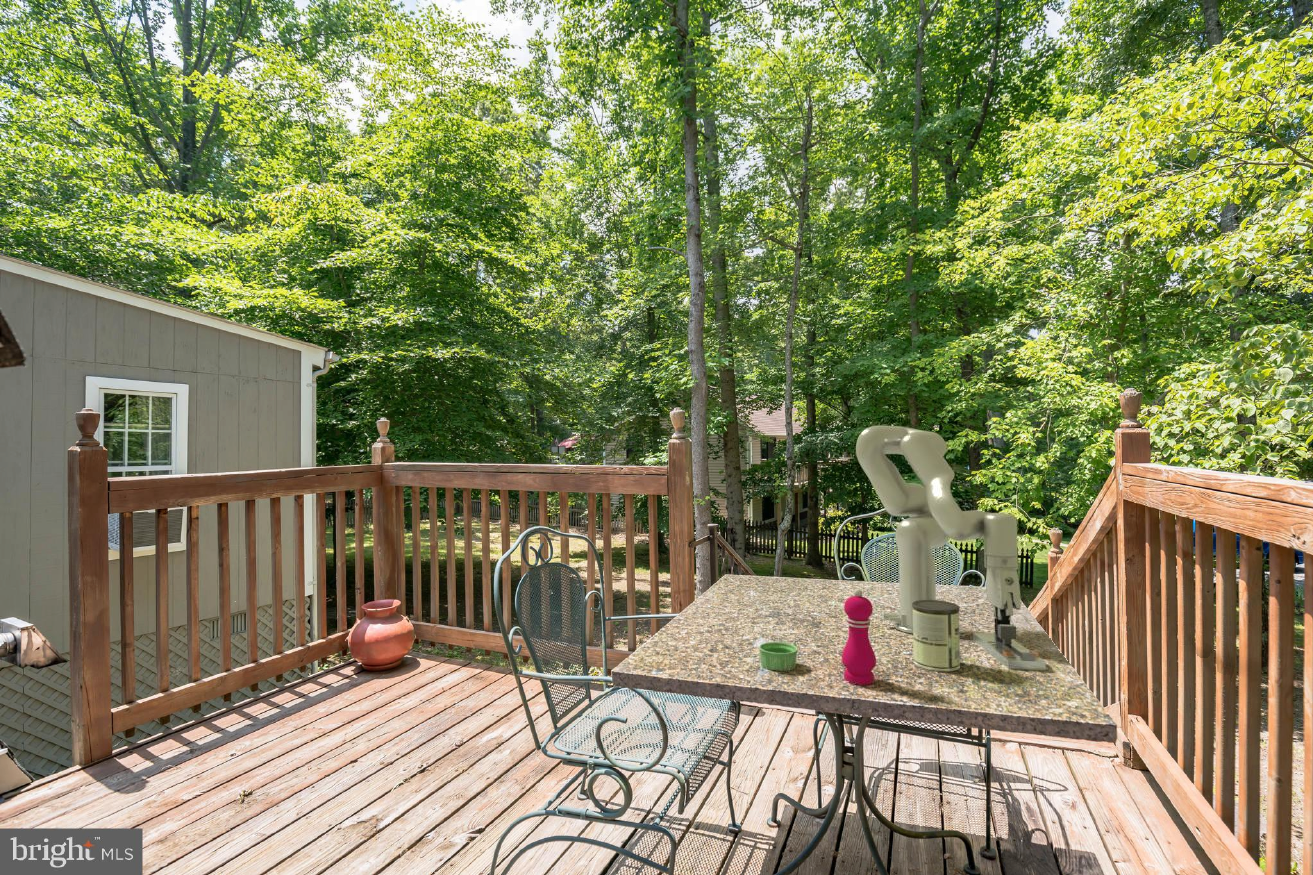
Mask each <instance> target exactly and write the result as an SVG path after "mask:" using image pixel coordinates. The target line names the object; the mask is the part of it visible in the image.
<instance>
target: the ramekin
mask: <svg viewBox="0 0 1313 875" xmlns="http://www.w3.org/2000/svg"><path fill="white" fill-rule="evenodd" d="M758 649H759V654H760V664H761V666H762V667H763V668H764V667H765V668H764V669H766V668H767V669H766V670H769V669H771V670H770V671H773V670H789V669H792V670H794V669H795V668H796V667H797V665H796V664H797V654H798V650H799V649H798V647H797V646H796V645H794V644H793V643H792V644H791V643H789V642H788V643H787V642H782V641H771V642H764V643H762V644H760V645H759V646H758ZM794 667H795V668H794ZM793 668H794V669H793ZM789 671H790V670H789Z"/></svg>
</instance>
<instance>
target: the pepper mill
mask: <svg viewBox="0 0 1313 875" xmlns="http://www.w3.org/2000/svg"><path fill="white" fill-rule="evenodd" d="M843 608H844V609H843V611H844V613H845V614H846V615H847V617H846V620H847V621H846V625H848V637H847V641H846V644H845V646H844V648H843V650H842V655H841V663H842V665H843V666H844V667H845V669H844V672H843V675H844V677H843V678H844V680H846V682H847V681H849V682H850V683H849V682H848V683H849V684H851V683H856V684H860V685H859V686H869V685H868V684H870V685H872V684H874V682H875V674H874V672H873V670H874V669H875V667H876V666H877V660H876V653H875V651H874V649H873V648H872V645H871V643H870V638H869V627H870V626H871V619H870V617H871V615H873V610H874V609H873V604H872V602H871V601H870V599H869V598H868V597H865V596H863V591H862V589H860V588H855V589H854V591H853V595H852V596H850V597H848V598H847V599H846V600H845V601H844V606H843ZM871 683H872V684H871Z"/></svg>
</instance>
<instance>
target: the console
mask: <svg viewBox="0 0 1313 875" xmlns="http://www.w3.org/2000/svg"><path fill="white" fill-rule="evenodd" d="M972 641H973V642H974V643H976V644H977V645H978V646H979V647H981V648H982V649H983V650H984V651H985V652H987V653H988V654H989V655H991V656H992V657H993V658H994V659H995V660H997V662H999V663H1001V664H1002V665H1003V666H1004V667H1005V668H1006V669H1008V670H1021V671H1023V670H1026V671H1046V661H1045V660H1044V659H1042V658H1041V657H1040V656H1039V653H1038V652H1037V651H1035V650H1033V649H1032V650H1029V649H1028V648H1026V647H1025V646H1024V645H1022V644H1021V643H1019V642H1018V641H1017V640H1016V639H1012V645H1005V644H1003V639H1001V638H999V637H998V635H997V634H995V632H972Z"/></svg>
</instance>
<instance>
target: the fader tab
mask: <svg viewBox="0 0 1313 875" xmlns="http://www.w3.org/2000/svg"><path fill="white" fill-rule="evenodd" d="M998 637H999V638H1001V639H1003V644H1005V645H1012V639H1013V640H1017V626H1015V625H1014V624H1010V625H1001V624H998Z"/></svg>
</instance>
